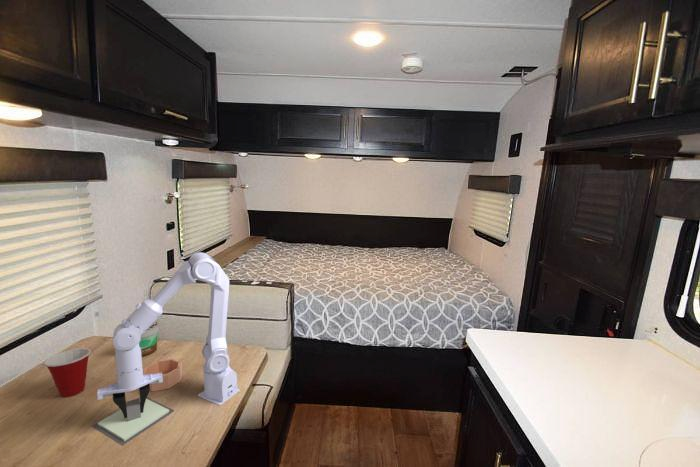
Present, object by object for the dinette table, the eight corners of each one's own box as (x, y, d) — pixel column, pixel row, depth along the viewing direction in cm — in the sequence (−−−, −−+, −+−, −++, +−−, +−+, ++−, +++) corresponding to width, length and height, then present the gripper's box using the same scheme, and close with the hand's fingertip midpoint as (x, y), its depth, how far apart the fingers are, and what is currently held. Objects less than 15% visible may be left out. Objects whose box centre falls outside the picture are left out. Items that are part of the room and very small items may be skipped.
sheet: (169, 411, 93) (168, 396, 92) (124, 441, 82) (122, 424, 81) (142, 398, 98) (141, 384, 97) (97, 424, 87) (95, 409, 86)
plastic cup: (89, 376, 109) (85, 342, 107) (99, 389, 102) (95, 354, 100) (45, 392, 101) (40, 355, 99) (52, 408, 94) (47, 369, 92)
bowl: (189, 377, 109) (187, 363, 109) (159, 395, 100) (158, 380, 99) (167, 369, 114) (166, 356, 113) (136, 386, 104) (135, 372, 103)
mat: (174, 411, 93) (174, 410, 93) (122, 446, 81) (122, 445, 81) (144, 396, 99) (144, 395, 99) (91, 427, 87) (91, 425, 87)
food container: (130, 363, 117) (128, 337, 115) (123, 357, 120) (121, 332, 119) (166, 350, 126) (164, 325, 125) (159, 345, 130) (157, 321, 129)
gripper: (159, 353, 95) (163, 395, 97) (96, 368, 87) (102, 414, 89) (161, 364, 89) (165, 409, 91) (94, 381, 81) (100, 430, 83)
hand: (134, 413), depth 90 cm, fingers closed on sheet, 3 cm apart
